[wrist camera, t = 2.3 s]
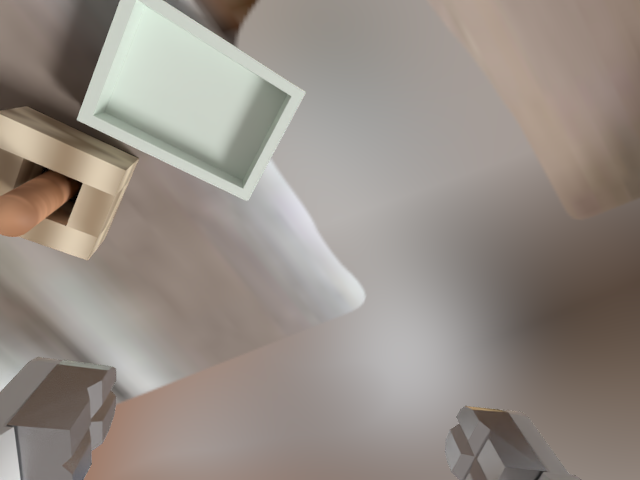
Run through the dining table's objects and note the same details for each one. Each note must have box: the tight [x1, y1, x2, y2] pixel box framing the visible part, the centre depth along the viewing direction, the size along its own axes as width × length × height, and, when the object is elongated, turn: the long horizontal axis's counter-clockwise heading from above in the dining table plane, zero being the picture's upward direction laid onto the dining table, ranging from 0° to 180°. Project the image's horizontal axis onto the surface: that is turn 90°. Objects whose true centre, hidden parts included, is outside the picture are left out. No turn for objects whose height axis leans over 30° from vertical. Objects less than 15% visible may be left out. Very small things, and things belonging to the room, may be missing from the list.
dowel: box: [0, 169, 83, 237], centre depth 32 cm, size 3×3×11 cm
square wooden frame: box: [0, 106, 139, 260], centre depth 34 cm, size 10×10×5 cm
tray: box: [77, 0, 306, 201], centre depth 34 cm, size 16×12×4 cm
